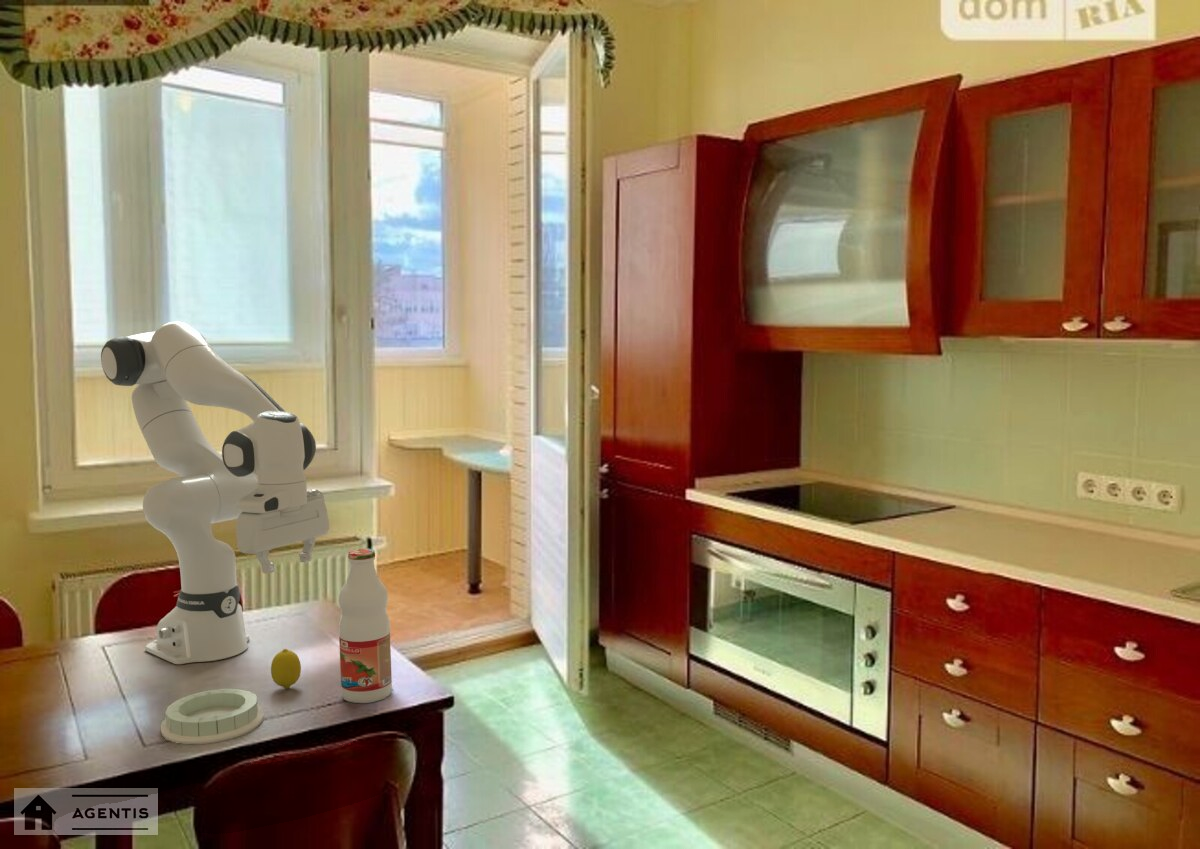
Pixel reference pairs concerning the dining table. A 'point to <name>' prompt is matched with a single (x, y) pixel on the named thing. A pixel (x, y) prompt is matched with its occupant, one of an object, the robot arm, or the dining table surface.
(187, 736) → the ceramic dish
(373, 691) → the fruit juice
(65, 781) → the dining table surface
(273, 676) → the lemon
